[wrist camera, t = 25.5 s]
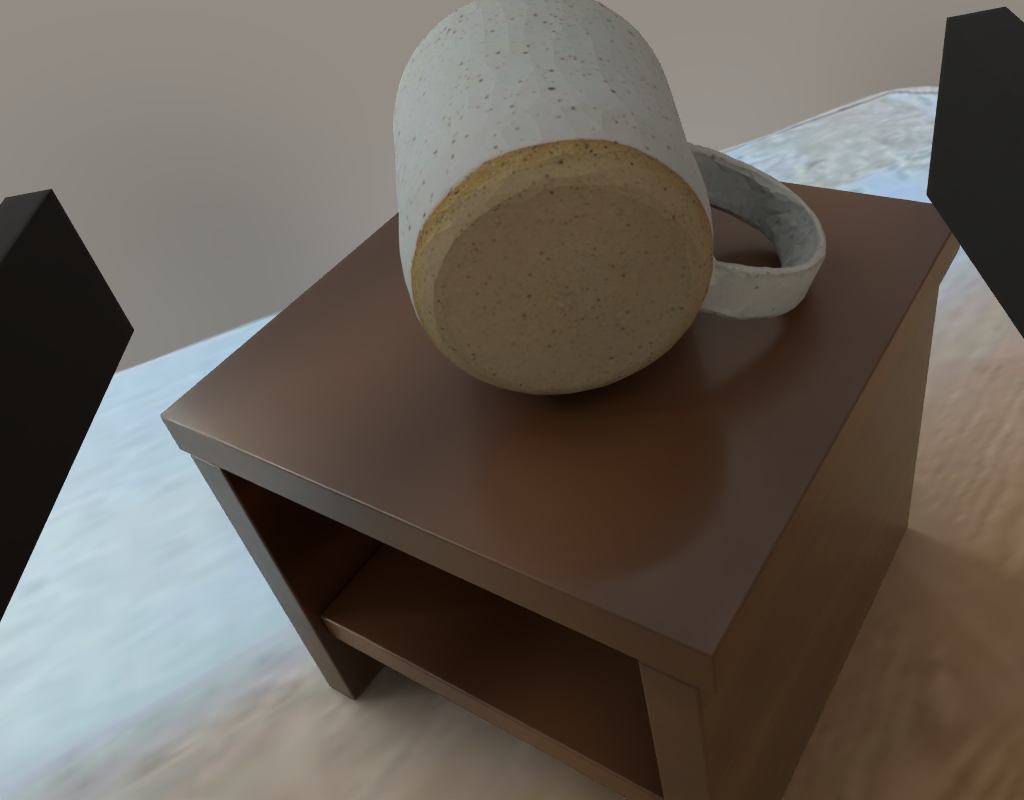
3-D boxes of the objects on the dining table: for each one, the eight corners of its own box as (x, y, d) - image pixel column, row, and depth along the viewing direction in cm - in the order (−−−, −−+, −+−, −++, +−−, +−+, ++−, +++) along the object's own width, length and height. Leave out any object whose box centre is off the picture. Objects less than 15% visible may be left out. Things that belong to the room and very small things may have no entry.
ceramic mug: (442, 445, 23) (352, 164, 18) (430, 263, 29) (361, 14, 24) (873, 360, 23) (906, 46, 18) (769, 193, 29) (771, -75, 24)
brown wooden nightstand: (321, 681, 36) (158, 415, 26) (547, 410, 44) (484, 138, 35) (738, 929, 27) (713, 658, 18) (919, 529, 35) (965, 207, 26)
